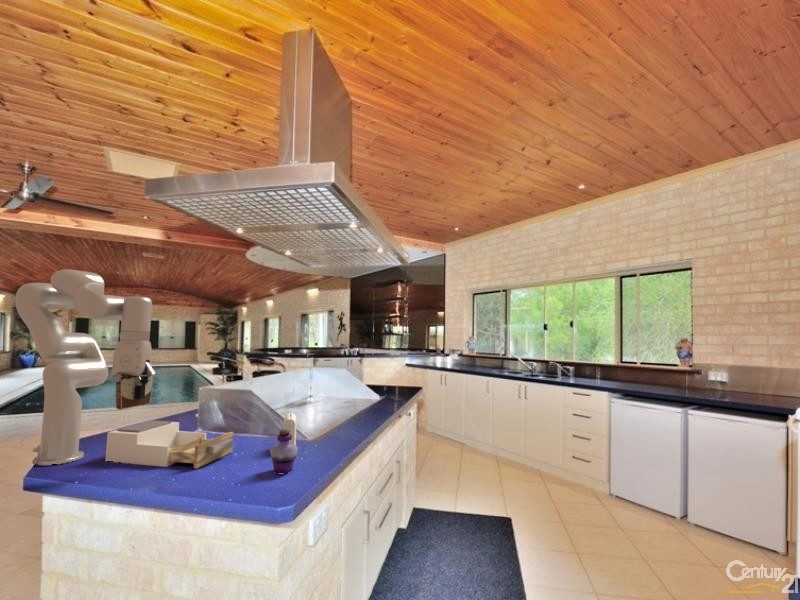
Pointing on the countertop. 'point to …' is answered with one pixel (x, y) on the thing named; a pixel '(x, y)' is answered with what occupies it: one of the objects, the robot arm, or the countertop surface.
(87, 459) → the countertop surface
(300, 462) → the countertop surface
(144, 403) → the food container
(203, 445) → the sliding tray
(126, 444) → the dock
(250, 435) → the countertop surface
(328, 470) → the countertop surface
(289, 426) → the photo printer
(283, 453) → the potion bottle
